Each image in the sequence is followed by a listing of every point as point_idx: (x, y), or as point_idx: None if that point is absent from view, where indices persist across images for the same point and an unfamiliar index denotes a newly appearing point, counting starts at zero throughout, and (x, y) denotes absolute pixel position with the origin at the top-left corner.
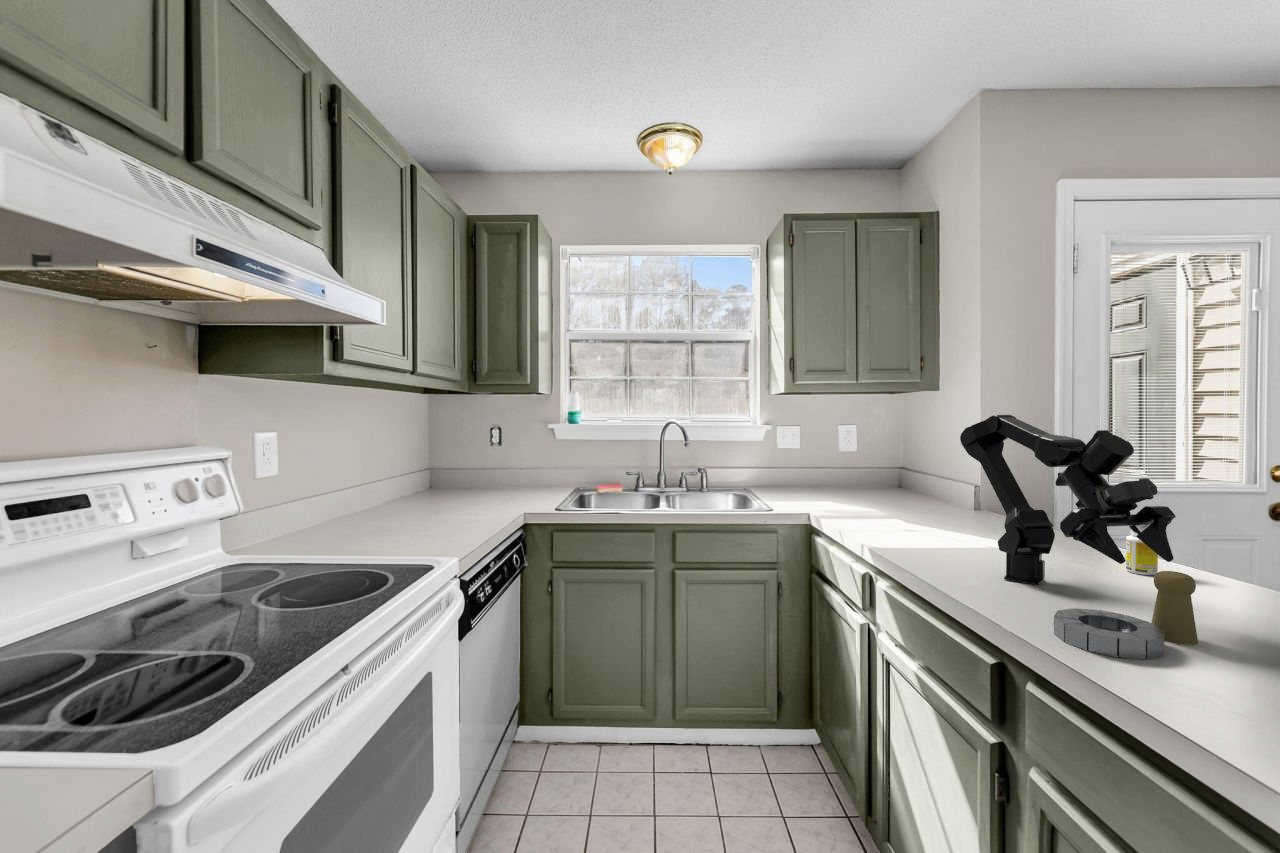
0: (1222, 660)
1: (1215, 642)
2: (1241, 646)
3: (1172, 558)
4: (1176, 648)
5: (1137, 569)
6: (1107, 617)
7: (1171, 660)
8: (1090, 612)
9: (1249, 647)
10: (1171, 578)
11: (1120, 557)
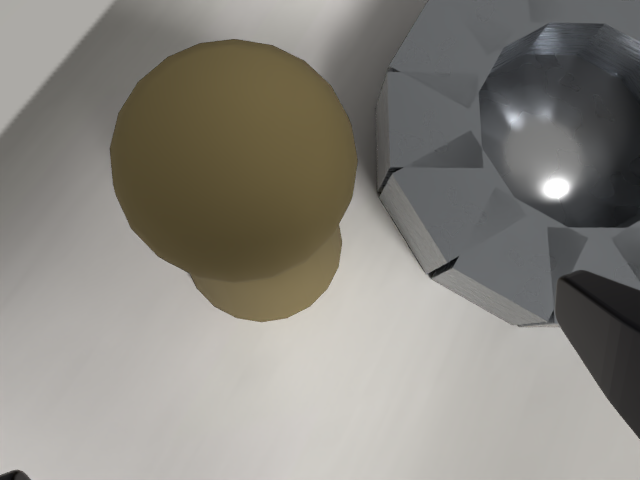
0: (230, 37)
1: (122, 220)
2: (49, 193)
3: (3, 477)
4: None
5: None
6: (545, 218)
7: (408, 7)
8: (604, 266)
9: (25, 187)
10: (302, 62)
11: (618, 287)
